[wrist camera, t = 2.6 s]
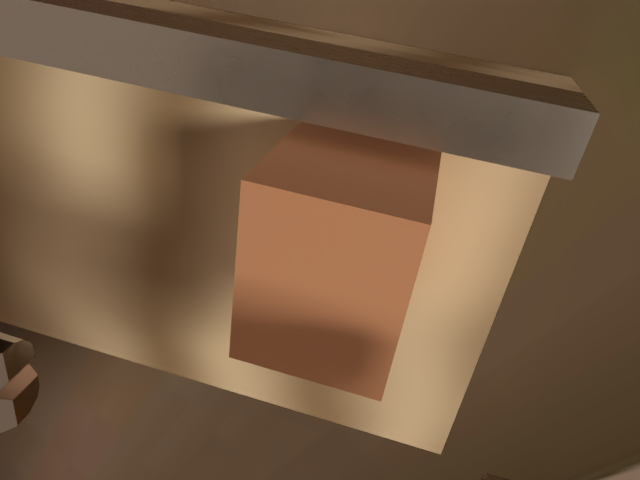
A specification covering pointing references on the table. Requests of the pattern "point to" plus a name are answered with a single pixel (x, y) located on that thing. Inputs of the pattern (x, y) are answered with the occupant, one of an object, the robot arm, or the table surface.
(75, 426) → the table surface
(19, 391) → the robot arm
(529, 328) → the table surface
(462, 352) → the birch board
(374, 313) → the block
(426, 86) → the steel straightedge
